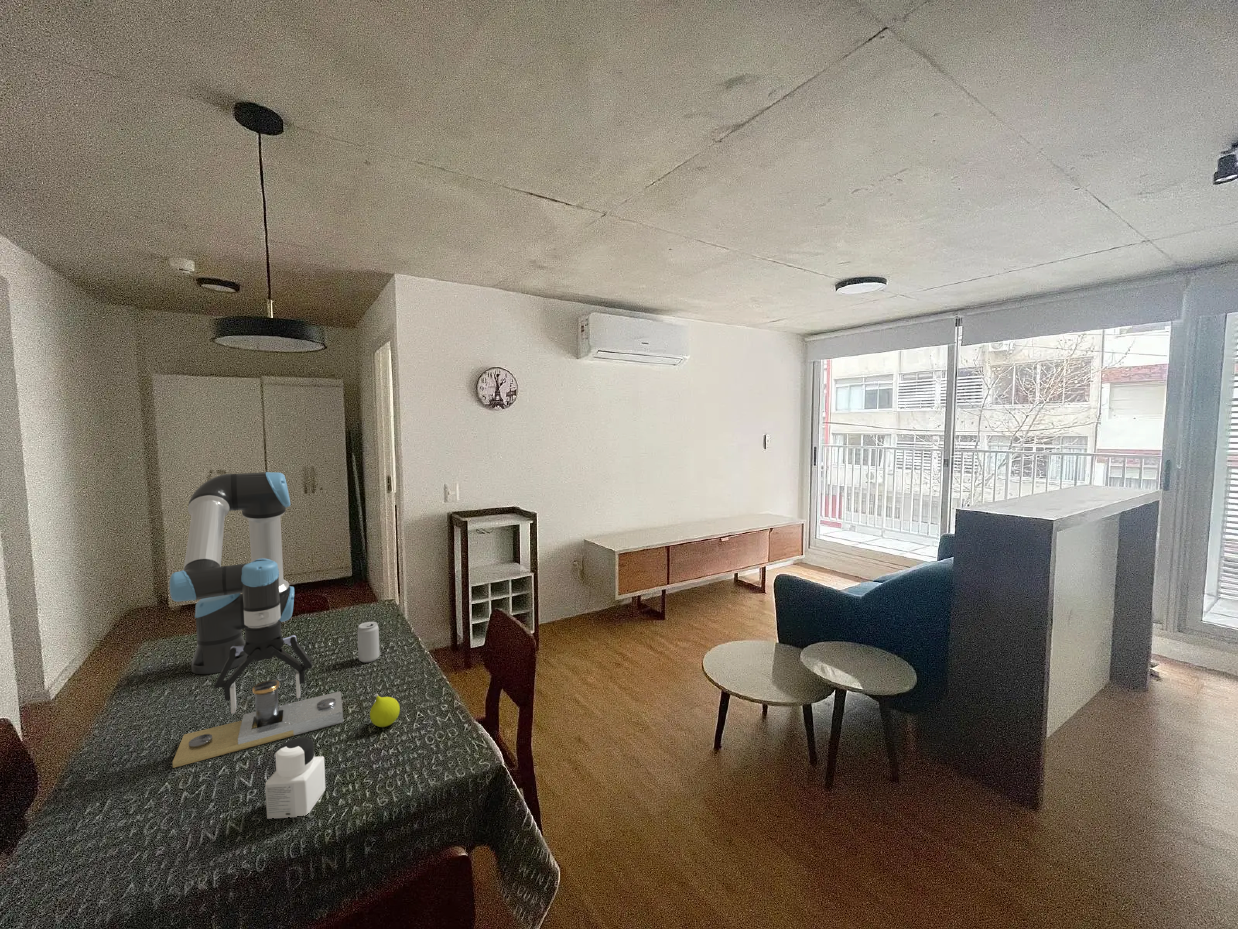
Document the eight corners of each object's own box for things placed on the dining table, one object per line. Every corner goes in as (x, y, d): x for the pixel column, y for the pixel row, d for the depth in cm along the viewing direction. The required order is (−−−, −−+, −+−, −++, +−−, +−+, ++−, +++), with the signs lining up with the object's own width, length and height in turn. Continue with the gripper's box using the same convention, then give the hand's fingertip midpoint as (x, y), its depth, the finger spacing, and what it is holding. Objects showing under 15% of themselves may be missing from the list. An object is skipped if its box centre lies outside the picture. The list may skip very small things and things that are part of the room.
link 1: (184, 740, 124) (183, 732, 124) (295, 712, 137) (294, 705, 136) (172, 768, 114) (172, 759, 114) (293, 735, 126) (293, 727, 126)
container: (288, 792, 107) (285, 733, 106) (326, 789, 107) (323, 731, 107) (266, 820, 99) (262, 757, 98) (307, 817, 100) (304, 755, 99)
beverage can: (371, 664, 165) (369, 629, 164) (354, 662, 166) (352, 627, 165) (383, 655, 171) (382, 621, 170) (367, 654, 172) (366, 620, 171)
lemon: (364, 729, 129) (362, 692, 128) (385, 714, 136) (384, 679, 135) (384, 735, 126) (383, 697, 126) (406, 720, 133) (405, 684, 132)
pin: (256, 728, 129) (253, 683, 129) (282, 721, 132) (279, 678, 131) (253, 739, 125) (251, 693, 124) (280, 732, 128) (278, 687, 127)
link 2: (244, 725, 131) (243, 712, 130) (341, 701, 142) (340, 689, 142) (238, 750, 120) (237, 736, 120) (343, 722, 132) (342, 709, 132)
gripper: (196, 639, 117) (201, 725, 119) (320, 618, 130) (323, 696, 132) (202, 628, 123) (207, 710, 125) (319, 609, 136) (323, 683, 138)
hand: (267, 703), depth 128 cm, fingers open, 13 cm apart
